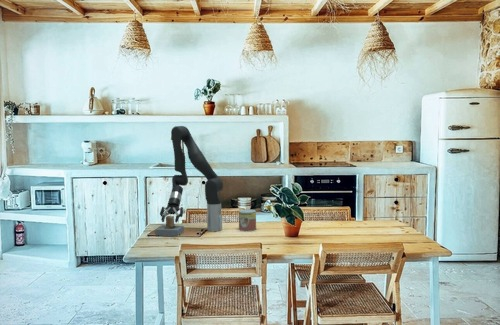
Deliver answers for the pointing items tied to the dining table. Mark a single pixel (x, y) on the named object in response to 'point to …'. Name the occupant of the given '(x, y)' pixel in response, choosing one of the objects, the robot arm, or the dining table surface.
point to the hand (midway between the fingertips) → (169, 221)
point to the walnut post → (170, 222)
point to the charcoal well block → (169, 231)
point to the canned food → (247, 220)
